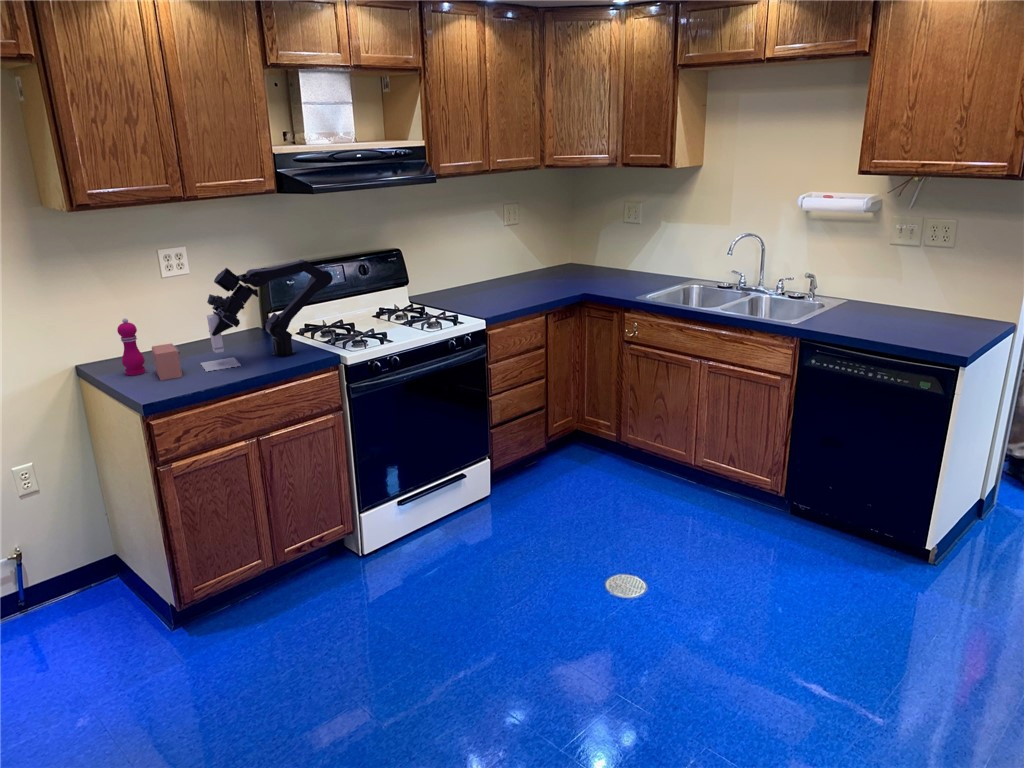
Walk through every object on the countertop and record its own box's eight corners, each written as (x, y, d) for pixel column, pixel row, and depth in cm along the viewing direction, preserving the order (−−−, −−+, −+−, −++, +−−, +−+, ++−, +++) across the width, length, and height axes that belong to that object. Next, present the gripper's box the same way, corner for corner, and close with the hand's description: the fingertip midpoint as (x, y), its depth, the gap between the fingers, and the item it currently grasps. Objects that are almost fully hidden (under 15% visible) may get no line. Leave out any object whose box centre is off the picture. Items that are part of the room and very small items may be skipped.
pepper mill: (121, 373, 261) (110, 318, 255) (142, 368, 266) (132, 314, 259) (128, 377, 256) (117, 322, 250) (150, 372, 261) (139, 318, 254)
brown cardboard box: (179, 367, 266) (175, 342, 263) (185, 376, 256) (180, 350, 253) (156, 371, 262) (151, 346, 259) (160, 380, 252) (155, 354, 249)
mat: (234, 358, 275) (233, 357, 275) (241, 366, 266) (241, 365, 266) (200, 364, 269) (200, 363, 269) (206, 372, 260) (206, 371, 260)
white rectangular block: (221, 348, 269) (215, 313, 264) (224, 351, 264) (218, 316, 260) (212, 349, 267) (206, 315, 263) (215, 353, 263) (209, 317, 259)
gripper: (214, 281, 267) (187, 315, 266) (224, 290, 252) (196, 326, 251) (239, 299, 274) (213, 333, 272) (251, 309, 259) (224, 344, 257)
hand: (211, 333), depth 263 cm, fingers closed on white rectangular block, 5 cm apart
